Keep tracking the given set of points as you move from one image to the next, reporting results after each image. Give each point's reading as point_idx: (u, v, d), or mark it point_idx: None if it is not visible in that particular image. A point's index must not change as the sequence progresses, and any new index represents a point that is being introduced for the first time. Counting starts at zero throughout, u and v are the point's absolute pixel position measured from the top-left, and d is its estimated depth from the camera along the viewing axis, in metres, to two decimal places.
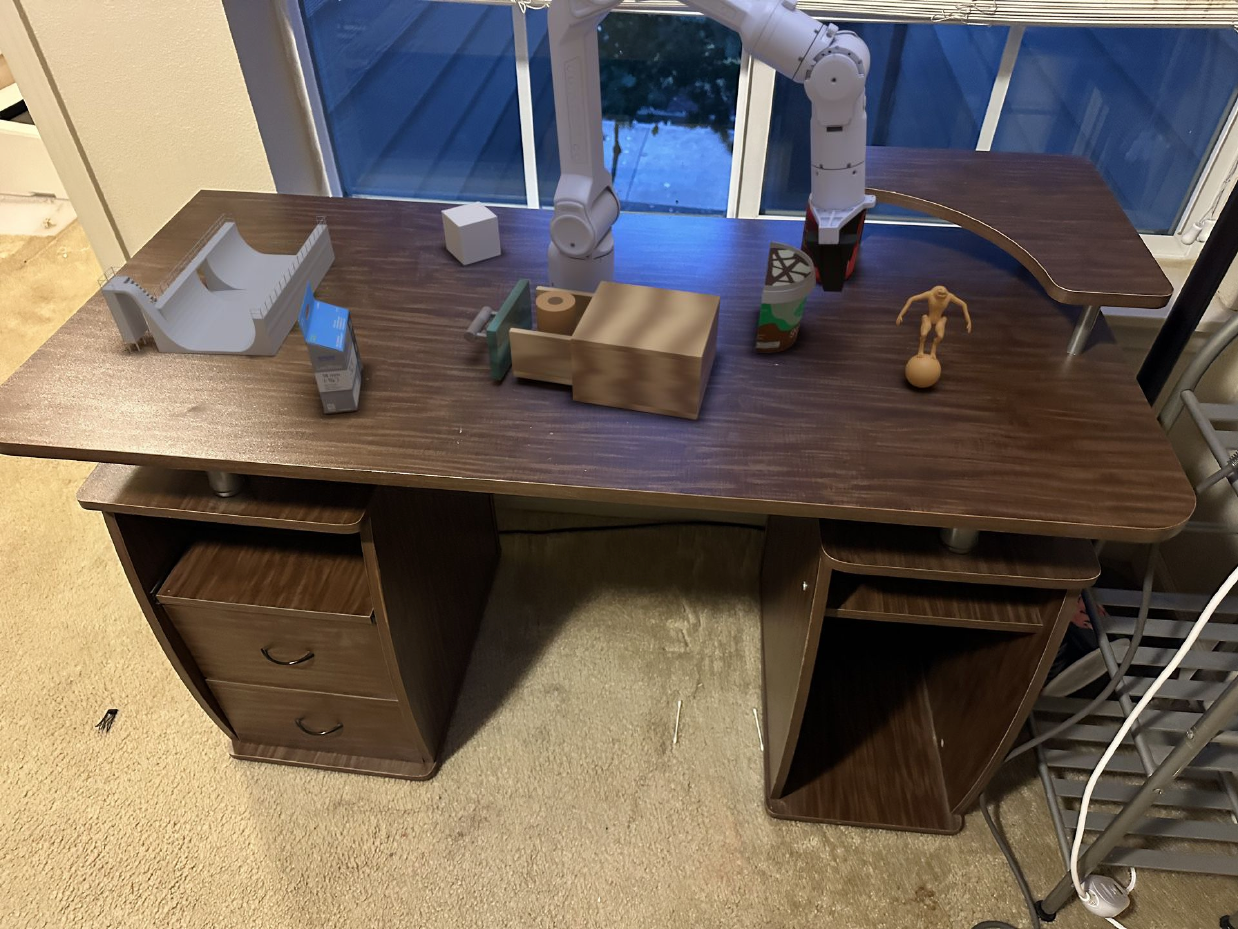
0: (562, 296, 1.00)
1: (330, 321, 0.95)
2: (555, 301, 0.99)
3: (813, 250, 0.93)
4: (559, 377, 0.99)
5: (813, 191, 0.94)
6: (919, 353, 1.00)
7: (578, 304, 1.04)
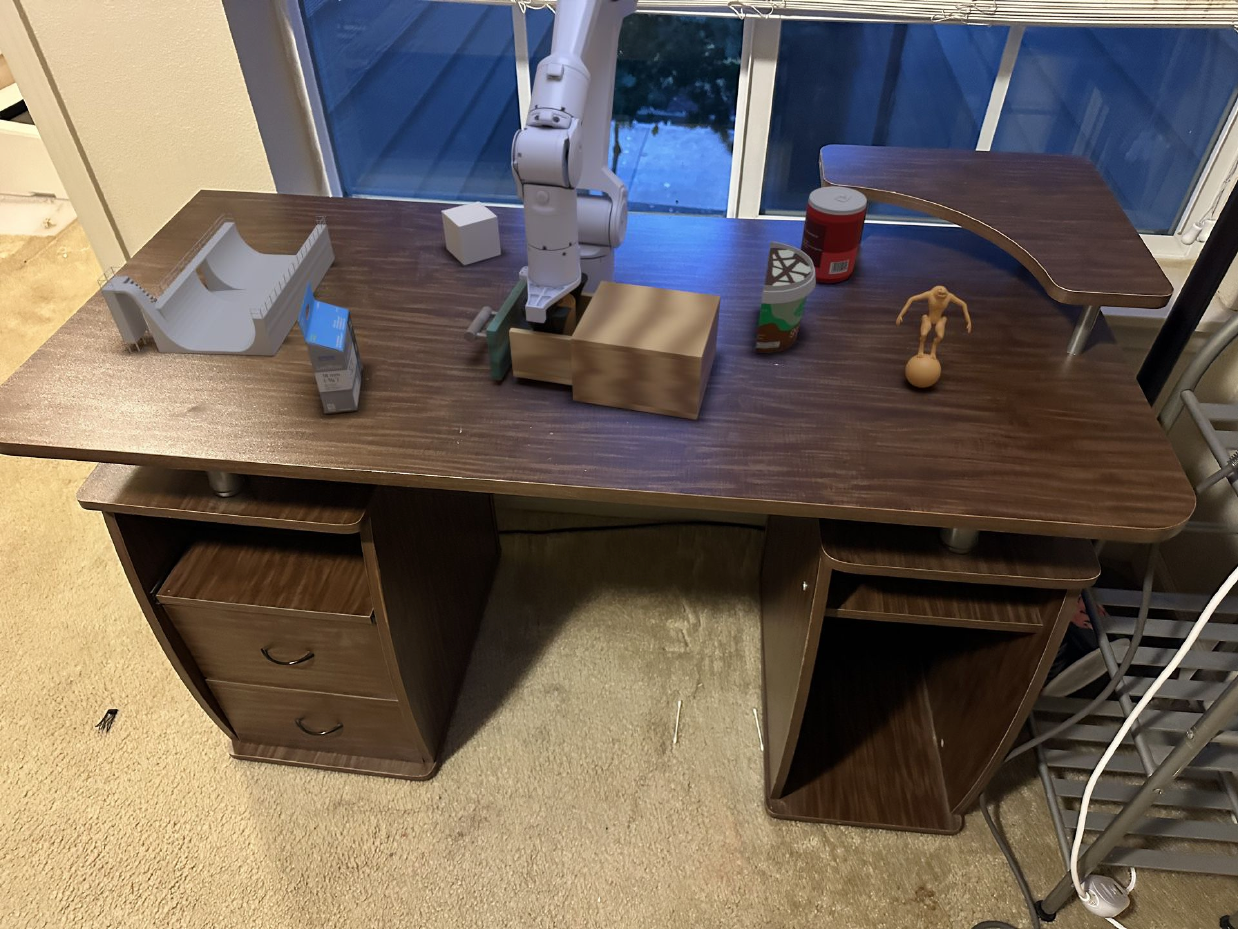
0: None
1: (330, 321, 0.95)
2: None
3: None
4: (559, 377, 0.99)
5: None
6: (919, 353, 1.00)
7: (578, 304, 1.04)
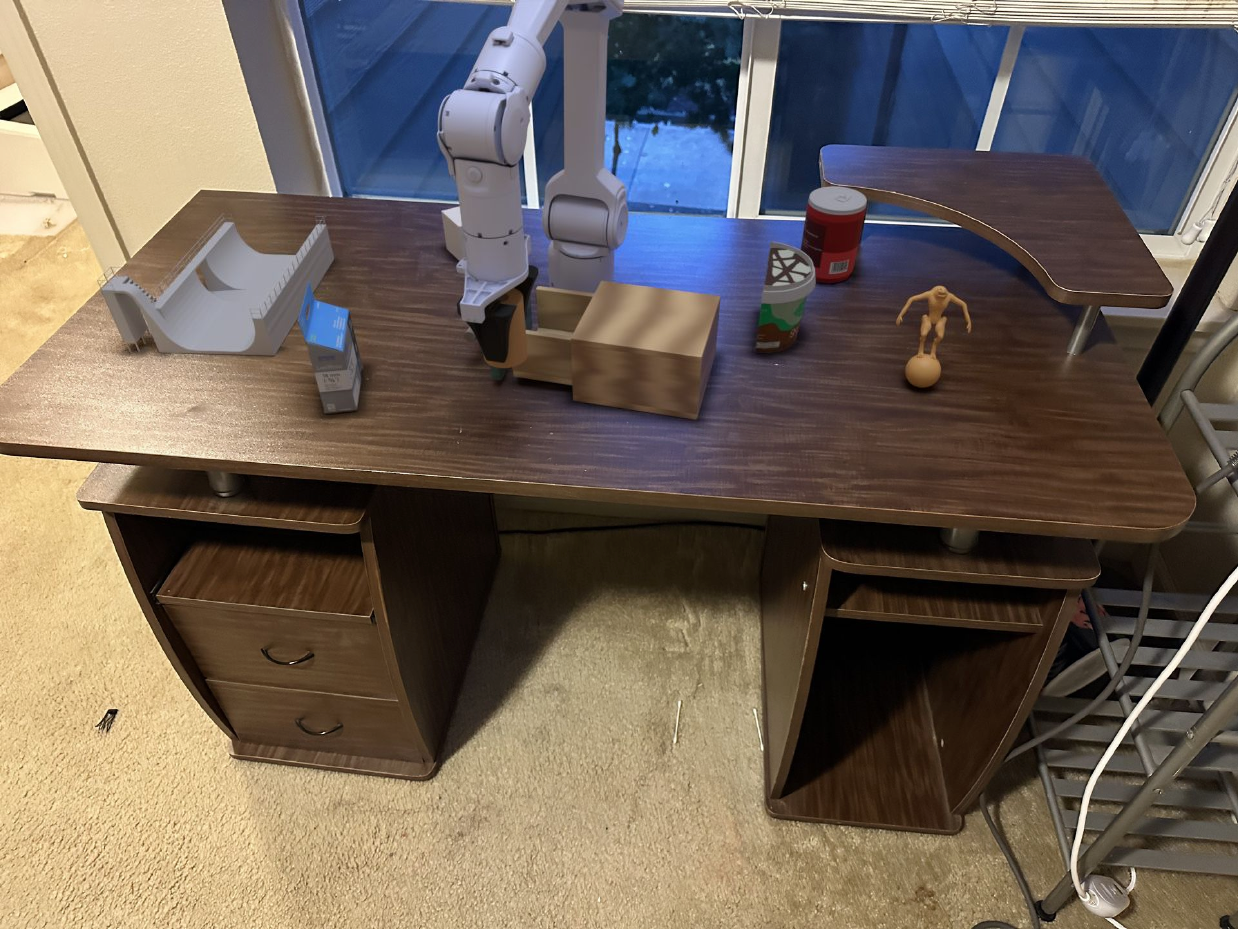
0: (508, 292, 0.86)
1: (330, 321, 0.95)
2: (499, 298, 0.86)
3: None
4: (559, 377, 0.99)
5: None
6: (919, 353, 1.00)
7: (578, 304, 1.04)
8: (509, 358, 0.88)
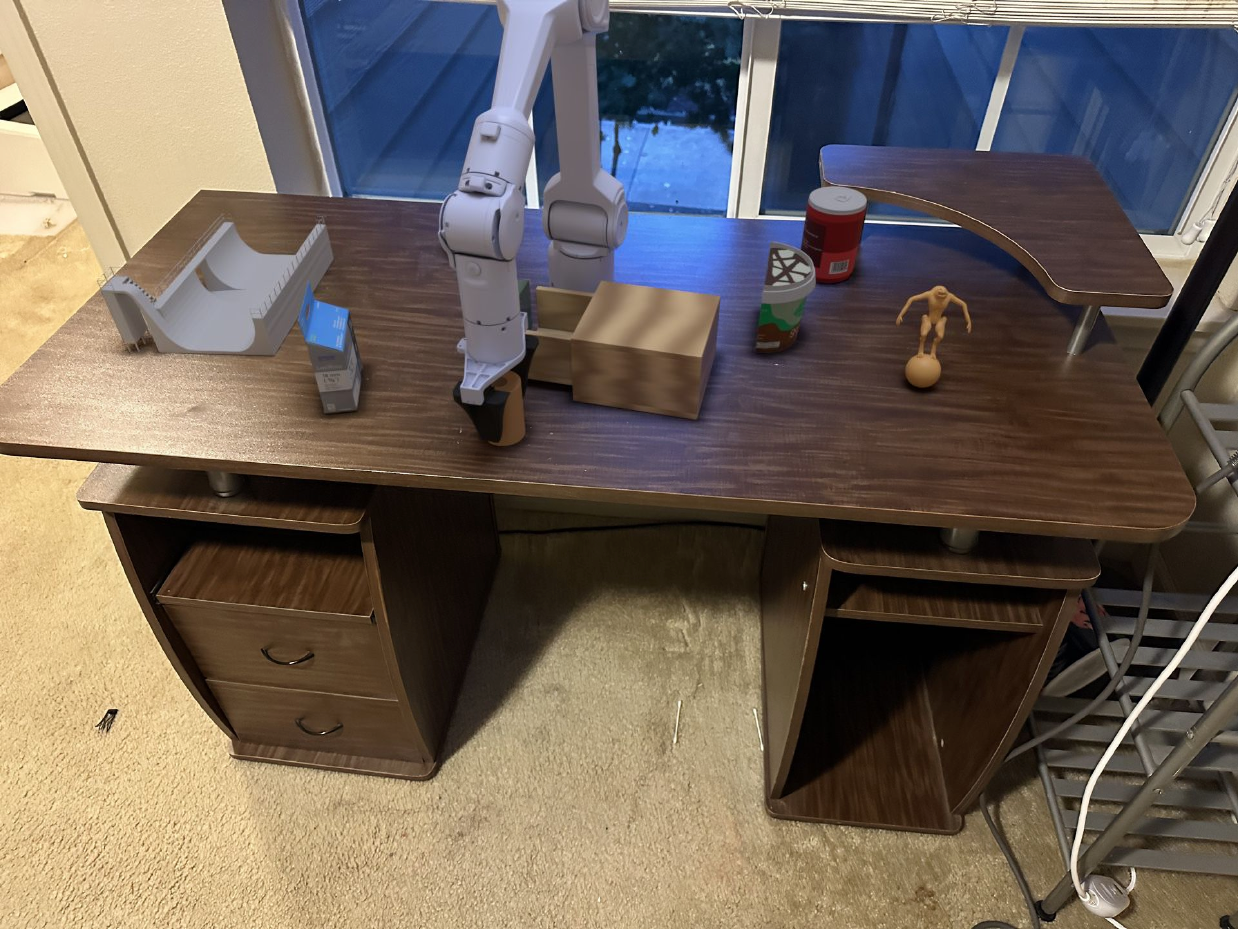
0: (507, 376, 0.91)
1: (330, 321, 0.95)
2: (498, 382, 0.90)
3: None
4: (559, 377, 0.99)
5: None
6: (919, 353, 1.00)
7: (578, 304, 1.04)
8: (508, 437, 0.92)
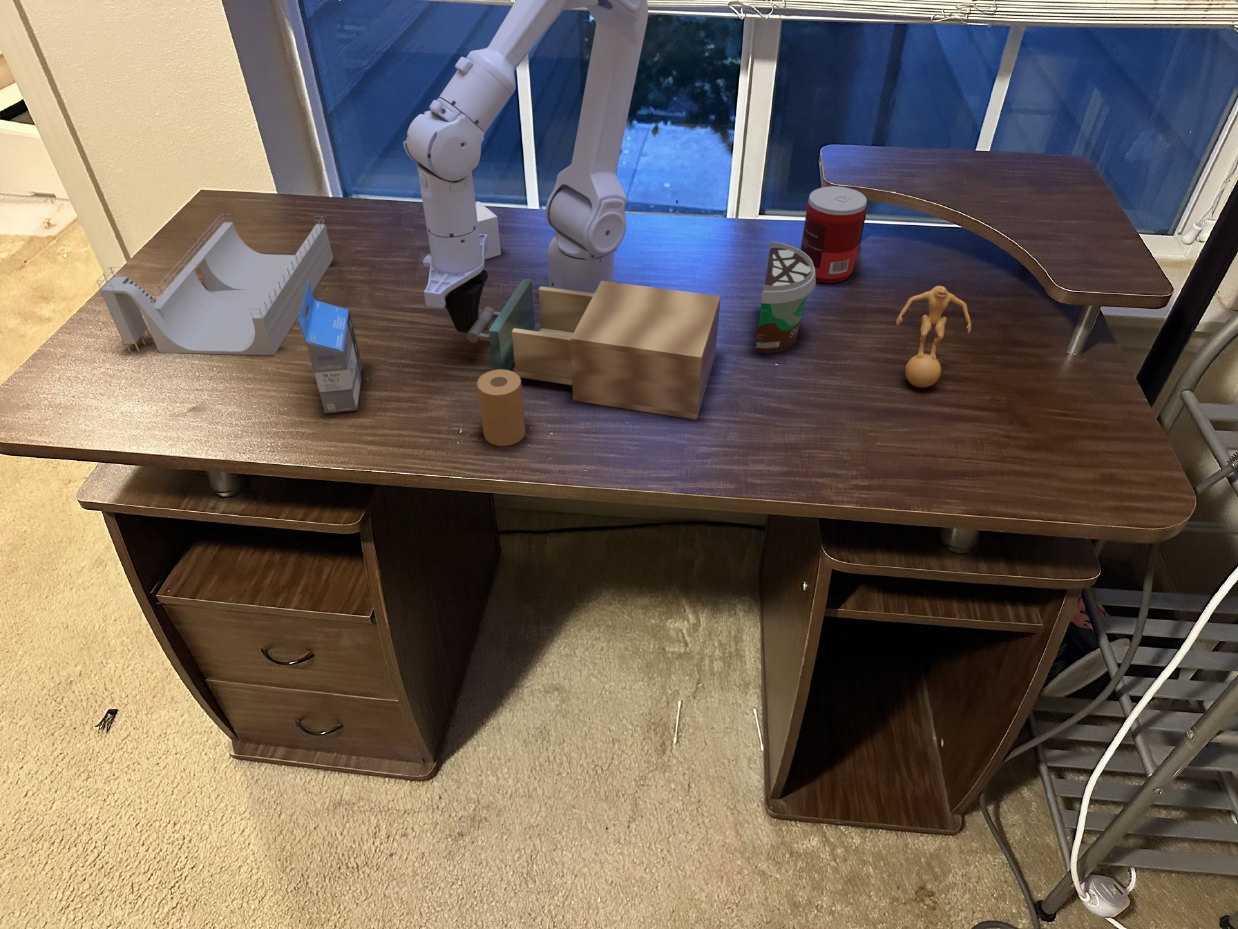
0: (507, 376, 0.91)
1: (330, 321, 0.95)
2: (498, 382, 0.90)
3: None
4: (562, 377, 0.99)
5: (480, 246, 0.98)
6: (919, 353, 1.00)
7: (581, 304, 1.04)
8: (508, 437, 0.92)
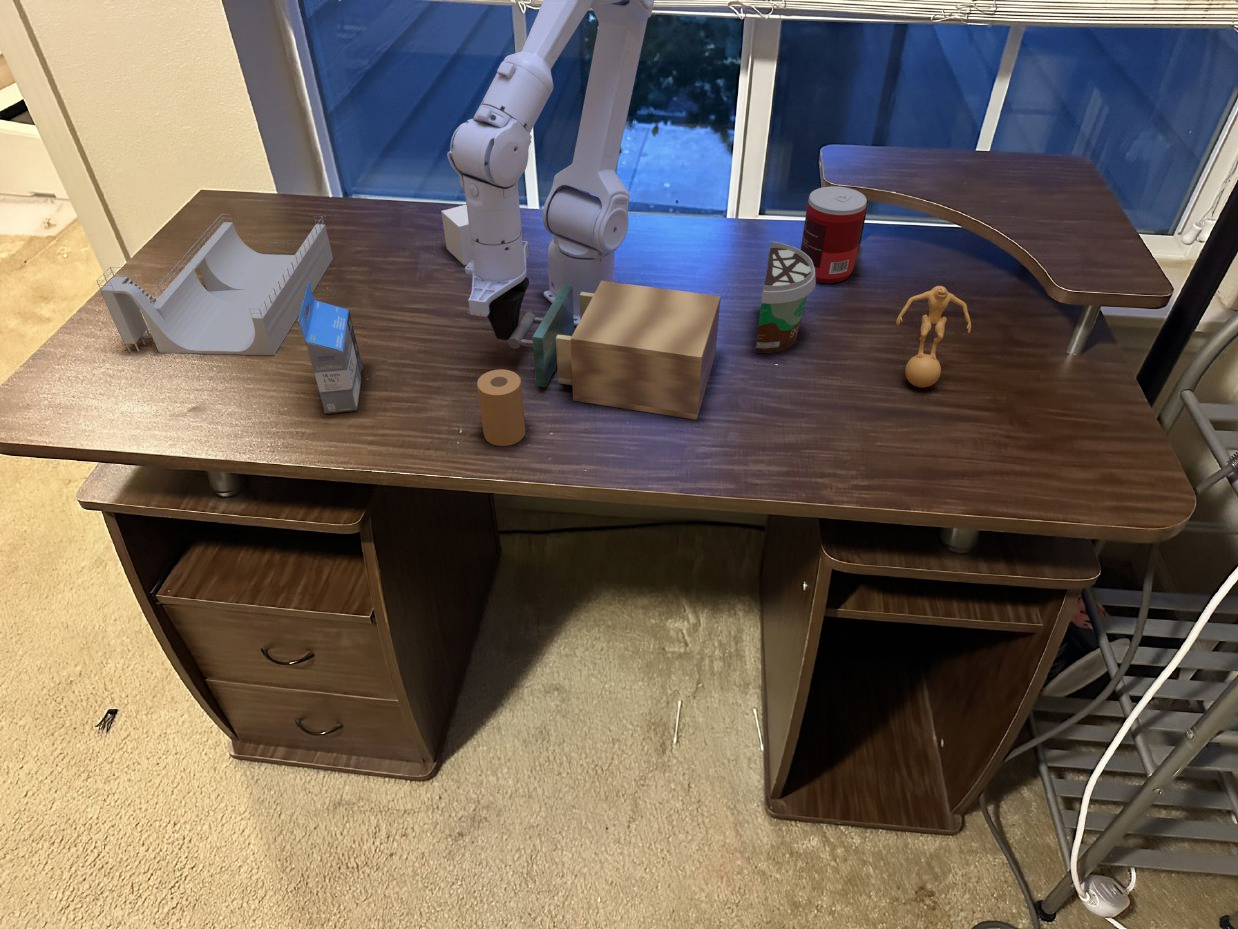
0: (507, 376, 0.91)
1: (330, 321, 0.95)
2: (498, 382, 0.90)
3: None
4: None
5: None
6: (919, 353, 1.00)
7: None
8: (508, 437, 0.92)
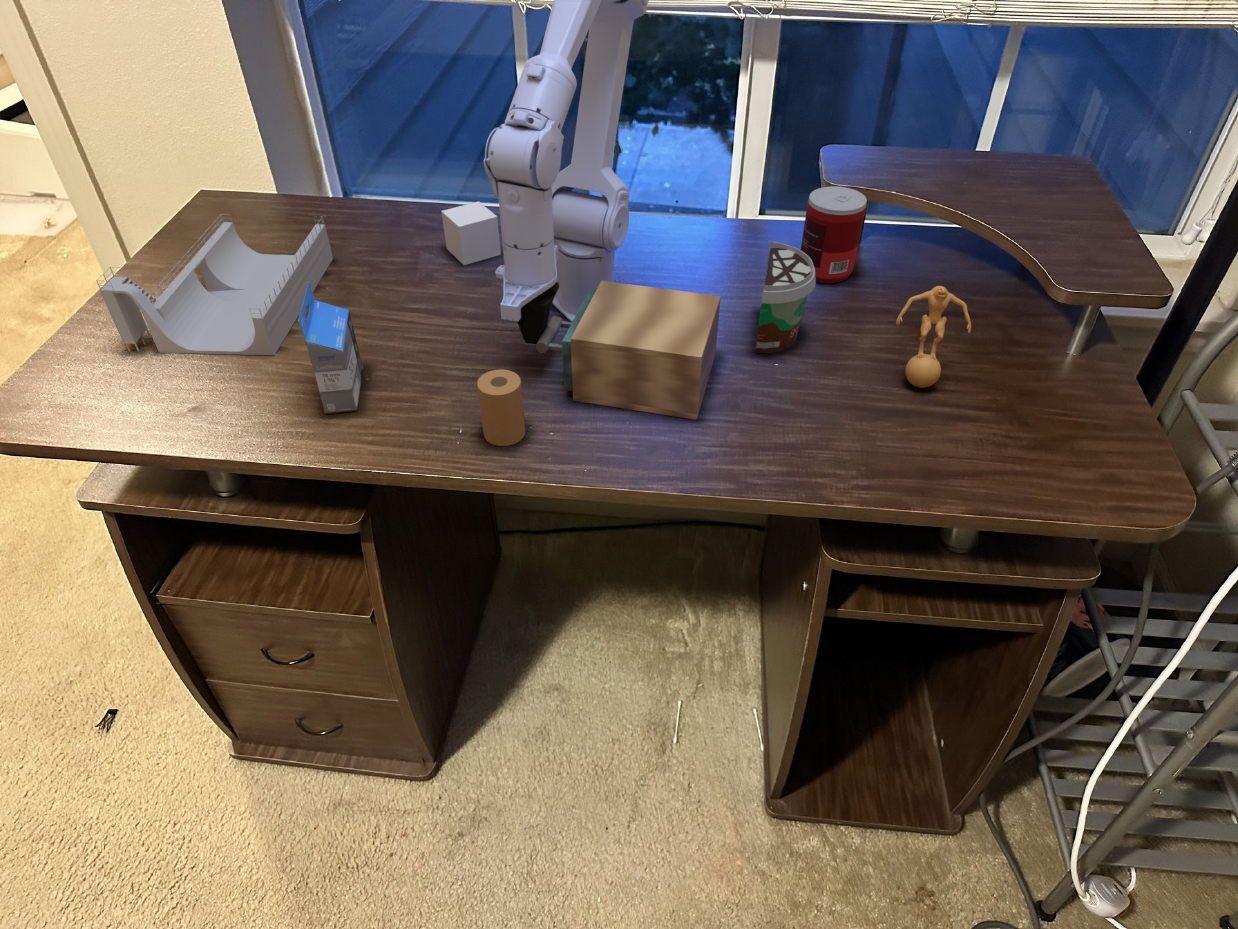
0: (507, 376, 0.91)
1: (330, 321, 0.95)
2: (498, 382, 0.90)
3: None
4: None
5: None
6: (919, 353, 1.00)
7: None
8: (508, 437, 0.92)
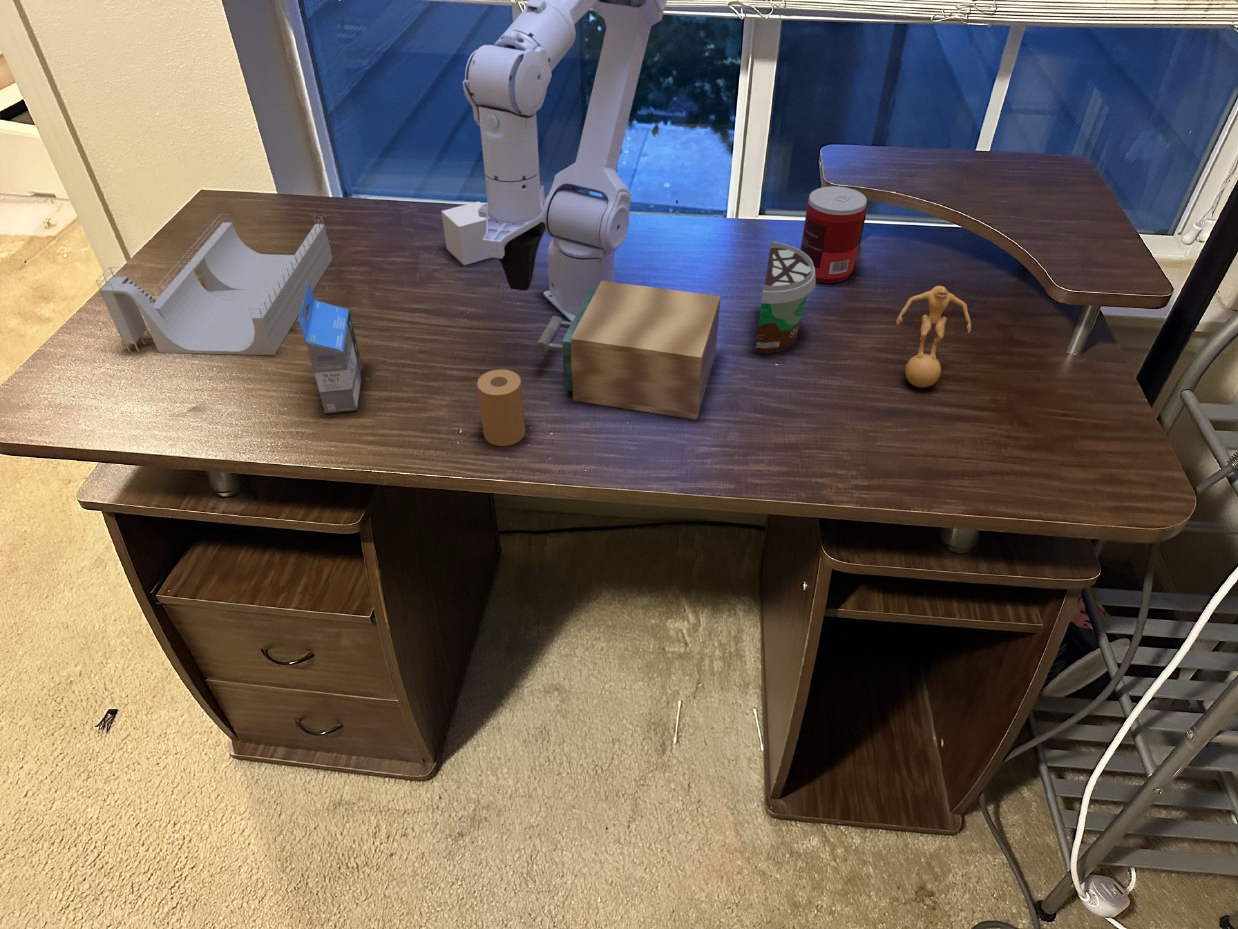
0: (507, 376, 0.91)
1: (330, 321, 0.95)
2: (498, 382, 0.90)
3: None
4: None
5: None
6: (919, 353, 1.00)
7: None
8: (508, 437, 0.92)
